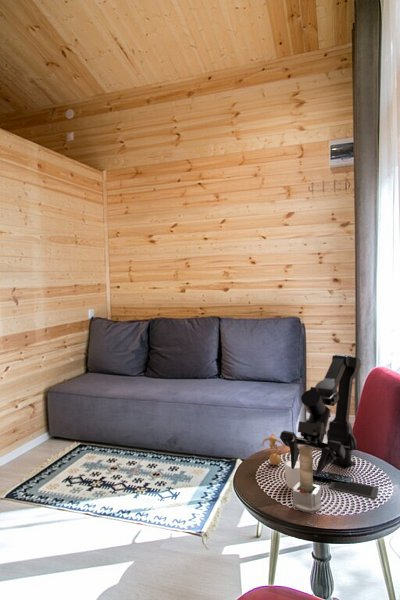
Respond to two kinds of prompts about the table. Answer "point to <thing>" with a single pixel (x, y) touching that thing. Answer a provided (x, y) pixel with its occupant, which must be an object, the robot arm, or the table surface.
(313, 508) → the stand
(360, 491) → the cell phone
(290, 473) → the white short cylinder
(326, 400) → the robot arm
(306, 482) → the post
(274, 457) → the figurine
